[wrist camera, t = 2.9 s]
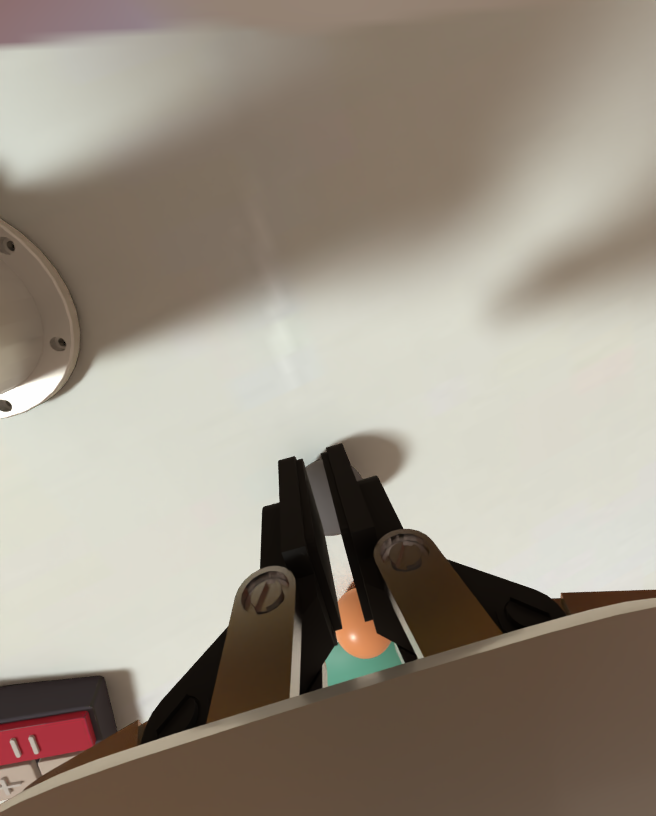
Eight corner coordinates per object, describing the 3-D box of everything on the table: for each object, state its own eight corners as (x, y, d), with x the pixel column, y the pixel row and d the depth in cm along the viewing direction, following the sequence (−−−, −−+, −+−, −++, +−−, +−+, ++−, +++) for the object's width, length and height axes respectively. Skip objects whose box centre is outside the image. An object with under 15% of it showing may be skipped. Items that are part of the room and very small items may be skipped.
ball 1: (282, 456, 28) (284, 499, 23) (350, 437, 28) (367, 476, 23) (299, 511, 30) (305, 562, 25) (363, 494, 30) (381, 540, 25)
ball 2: (322, 583, 34) (331, 640, 29) (379, 566, 34) (398, 620, 29) (335, 622, 36) (345, 681, 31) (388, 606, 36) (407, 662, 31)
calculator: (109, 785, 35) (-78, 823, 32) (123, 732, 39) (-43, 761, 36) (89, 715, 31) (-127, 751, 28) (107, 664, 35) (-81, 690, 32)
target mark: (299, 649, 36) (299, 650, 36) (431, 609, 37) (432, 611, 37) (329, 724, 42) (329, 726, 42) (444, 689, 43) (445, 691, 43)
